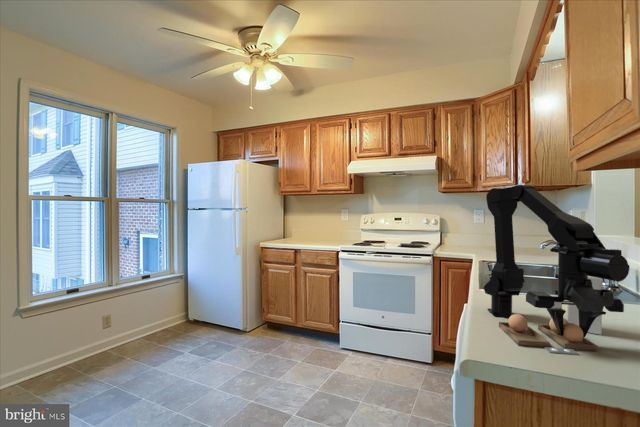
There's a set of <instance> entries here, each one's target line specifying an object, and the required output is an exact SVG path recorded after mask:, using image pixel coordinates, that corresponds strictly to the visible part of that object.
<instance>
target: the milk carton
mask: <svg viewBox="0 0 640 427" xmlns="http://www.w3.org/2000/svg"><path fill="white" fill-rule="evenodd" d="M588 279H591V282H592V287H593V289H596V290H600V289H603V279H602V278H597V277H592V276H588ZM566 320H567V321H568V322H569V323H573V324H576V325H578V326H579V312H578V308H577V307H576V305H567V319H566ZM602 320H603V315H600V316H598V317H597V318H596V319H595V320H594V321H593V323H592V325H591V327H590V328H589V330H588V332H587V333H589V334H595V335H602V333H603V332H602V330H603V329H602V328H603V326H602V325H603V321H602Z"/></svg>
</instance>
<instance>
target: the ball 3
mask: <svg viewBox="0 0 640 427" xmlns="http://www.w3.org/2000/svg"><path fill="white" fill-rule="evenodd" d="M583 335H584V334H583V331H582V329H581V328H580V327H579V326H578V325H576V324H573V323H566V324H564V333H563V337H564V338H565V339H566V340H568V341H571V342H578V341H580V340H582V338H583Z"/></svg>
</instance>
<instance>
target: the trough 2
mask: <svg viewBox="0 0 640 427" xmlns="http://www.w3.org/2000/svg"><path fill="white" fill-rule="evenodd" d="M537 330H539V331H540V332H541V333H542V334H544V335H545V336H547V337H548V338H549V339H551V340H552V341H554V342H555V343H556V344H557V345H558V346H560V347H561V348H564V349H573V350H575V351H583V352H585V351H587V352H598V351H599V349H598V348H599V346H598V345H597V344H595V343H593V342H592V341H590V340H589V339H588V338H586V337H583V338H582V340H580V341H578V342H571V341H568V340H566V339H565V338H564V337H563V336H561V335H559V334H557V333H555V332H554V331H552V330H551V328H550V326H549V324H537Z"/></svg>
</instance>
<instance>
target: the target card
mask: <svg viewBox="0 0 640 427" xmlns="http://www.w3.org/2000/svg"><path fill="white" fill-rule="evenodd" d="M543 349H544V350H546V351H547V352H548V353H549V354H561V355H562V354H563V355H573V356H579V355H580V353H579V352H577V350H573V349H564V348H563V347H561V348H560V347H551V346H550V347H544V348H543Z"/></svg>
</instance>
